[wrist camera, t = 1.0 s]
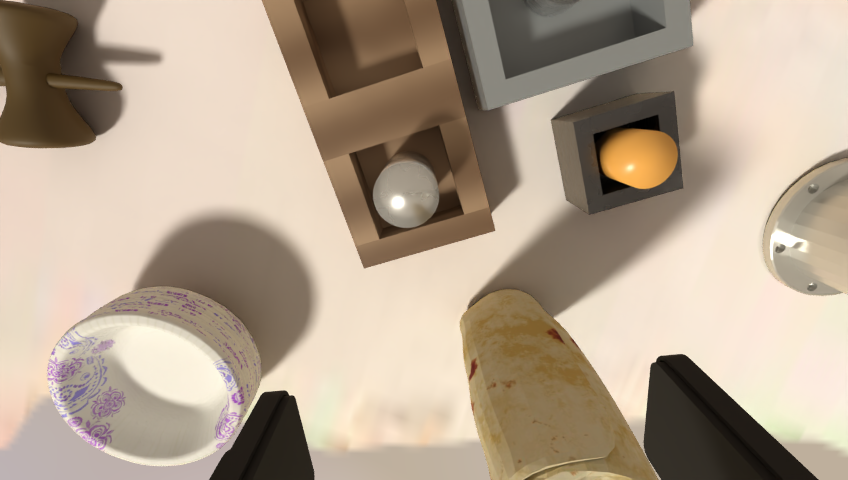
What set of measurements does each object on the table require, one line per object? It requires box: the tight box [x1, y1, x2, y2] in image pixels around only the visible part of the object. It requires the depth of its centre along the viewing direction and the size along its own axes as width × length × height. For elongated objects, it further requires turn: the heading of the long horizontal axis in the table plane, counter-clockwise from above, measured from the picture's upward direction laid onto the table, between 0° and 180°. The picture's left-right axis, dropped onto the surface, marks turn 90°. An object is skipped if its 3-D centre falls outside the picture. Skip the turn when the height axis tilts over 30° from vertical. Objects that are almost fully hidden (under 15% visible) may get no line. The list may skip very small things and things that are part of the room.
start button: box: [595, 127, 678, 189], centre depth 28 cm, size 4×4×4 cm
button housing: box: [551, 91, 683, 215], centre depth 31 cm, size 7×7×5 cm
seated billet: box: [373, 151, 439, 228], centre depth 30 cm, size 4×4×7 cm
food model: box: [460, 289, 658, 480], centre depth 29 cm, size 10×7×20 cm
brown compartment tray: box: [262, 0, 495, 268], centre depth 30 cm, size 22×11×4 cm, turn 17°
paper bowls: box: [47, 286, 261, 466], centre depth 35 cm, size 15×15×8 cm
